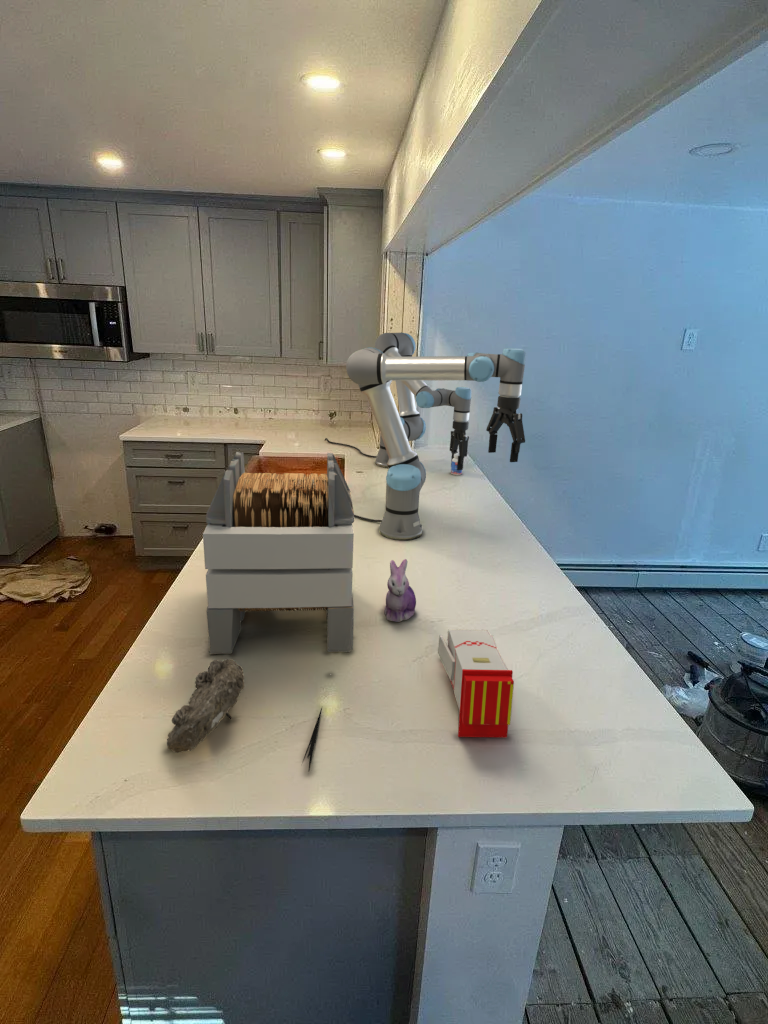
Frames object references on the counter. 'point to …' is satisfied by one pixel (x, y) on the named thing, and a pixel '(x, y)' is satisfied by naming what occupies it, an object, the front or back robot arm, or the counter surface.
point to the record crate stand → (279, 550)
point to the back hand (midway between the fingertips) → (456, 468)
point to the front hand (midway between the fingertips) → (502, 457)
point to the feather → (313, 740)
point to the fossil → (206, 705)
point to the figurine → (399, 594)
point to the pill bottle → (455, 465)
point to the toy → (478, 682)
